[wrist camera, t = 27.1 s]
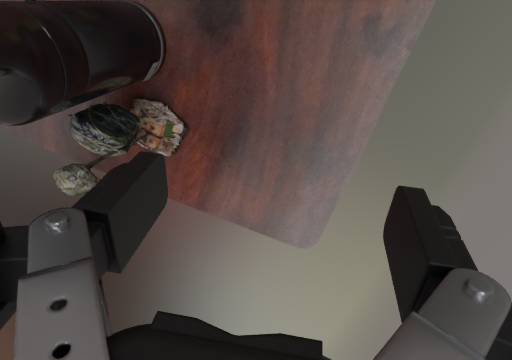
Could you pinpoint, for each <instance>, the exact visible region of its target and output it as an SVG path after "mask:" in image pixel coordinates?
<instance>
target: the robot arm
mask: <svg viewBox="0 0 512 360" xmlns="http://www.w3.org/2000/svg"><path fill="white" fill-rule="evenodd" d="M165 52H166V46H165V39H164V35H163V31H162V29H161V27H160V25H159V23H158V21H157V19H156V18H155V17H154V15H153V14H152V13H151V12H150V11H149V10H148V9H147V8H145V7H144V6H143V5H141V4H139V3H137V2H135V1H131V0H113V1H105V0H98V1H34V0H25V1H0V124H4V125H11V126H16V125H24V124H28V123H31V122H34V121H37V120H40V119H42V118H45V117H47V116H50V115H53V114H55V113H58V112H61V111H63V110H66V109H68V108H71V107H73V106H76V105H78V104H81V103H84V102H86V101H89V100H92V99H94V98H97V97H99V96H102V95H105V94H107V93H110V92H113V91H115V90H118V89H120V88H123V87H126V86H128V85H131V84H134V83H136V82H141V81H143V82H144V81H146V80H149V79H150V78H151V77H153V76H154V75H155V74H156V73H157V72H158V71H159V70H160V68H161V66H162V64H163V62H164V58H165ZM167 197H168V187H167V177H166V166H165V158H164V156H163V155H162V154H159V153H151V152H143V151H141V152H139V153H138V154H137V155H136V156H135V157H134V158H133V159H132V160H131V161H130V162H129V163H123V164H121V165H119V166H117V167H115V168H113V169H111V170H110V171H109V172H108V173H107V174H106V175H105V176H104V177H103V179H101V180H100V181H99V182H98V183H97V184H96V186H94V187H93V188H91V189H90V190H89V191H88V192H87V193H86V194H85V195H84V196H83V197H82V198H81V199H80V200H79V201H78V202H77V203H76V204H75V205H74V206H73V207H71V208H59V209H54V210H51V211H48V212H46V213H43V214H41V215H40V216H38V217H37V218H35V219H34V220H33V221H32V223H31V224H30V225H29V226H16V227H15V226H14V227H3V226H2V224H1V222H0V330H1V329H2V328H3V326H4V325H5V324H6V322H7V321H8V320H9V319H10V318H11V317H12V315H13V314H14V313H15V312H16V328H15V329H16V330H15V346H14V360H331V359H329V358H327V357H325V356H323V355H322V341H319V340H314V339H308V338H303V337H297V336H292V335H286V334H281V333H279V334H261V335H242V336H237V335H233V334H230V333H228V332H226V331H224V330H222V329H219V328H217V327H215V326H213V325H211V324H208V323H206V322H204V321H202V320H200V319H197V318H193V317H188V316H183V315H177V314H172V313H166V312H161V311H157V314H156V315H155V317H154V320H153V322H152V324H144V325H138V326H134V327H131V328H127V329H124V330H122V331H119V332H116V333H114V334H113V333H112V328H111V323H110V318H109V313H108V307H107V302H106V297H105V293H104V288H103V283H102V279H101V278H102V276H103V275H104V274H105V272H106V271H109V272H114V273H121V272H122V271H123V269H124V268H125V266H126V265H127V263H128V262H129V260H130V259H131V257H132V256H133V254H134V253H135V251H136V249H137V248H138V247H139V245H140V244H141V242H142V240H143V239H144V238H145V236H146V235H147V233H148V231H149V230H150V228H151V227H152V225H153V224H154V222H155V221H156V219H157V218H158V216H159V215H160V213H161V212H162V210H163V209H164V207H165V205H166V202H167ZM383 239H384V245H385V249H386V254H387V258H388V263H389V267H390V271H391V276H392V281H393V285H394V290H395V294H396V299H397V303H398V307H399V312H400V317H401V321H402V324H401V326H400V327H399V328H398V329H397V331H396V332H395V333H394V334H393V336H392V337H391V338H390V339H389V340H388V342H387V343H386V344H385V346H384V347H383V348H382V349H381V350H380V352H379V353H378V354H377V355H376V356H375V358H374V359H373V360H512V302H511V298H510V296H509V294H508V293H507V291H506V290H505V289H504V288H503V287H502V286H501V285H500V284H499V283H498V282H497V281H495V280H494V279H493V278H491V277H489V276H488V275H485V274H483V273H481V272H479V271H478V269H477V268H476V266H475V264H474V262H473V260H472V258H471V256H470V254H469V252H468V250H467V248H466V246H465V244H464V242H463V240H461V236H460V234H459V232H458V231H457V230H456V227H455V225H454V223H453V221H452V219H451V217H450V216H449V215H448V214H447V213H446V212H445V211H443V210H442V209H441V208H440V207H439V206H434V205H431V203H430V201H429V199H428V197H427V195H426V192H425V191H424V189H421V188H413V187H406V186H398V187H397V189H396V191H395V194H394V197H393V200H392V203H391V206H390V209H389V212H388V215H387V218H386V222H385V226H384V233H383Z"/></svg>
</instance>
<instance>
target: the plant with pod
mask: <svg viewBox="0 0 512 360" xmlns="http://www.w3.org/2000/svg"><path fill="white" fill-rule="evenodd" d="M132 101H133V102H132V103H133V104H132V107H131V109H130V111H128V110H126V109H124V108H122V107H121V106H118V105H115V104H111V105H108V104H106V102H104V103H103V104H97V105H94V106H93V105H90V108H87V109H85V110H83V111H80V112H77V113H76V114H74V116H73V117H72V119H71V129H70V132H71V135H72V136H73V138H74V139H75V141H77V142H78V143H79V144H80V145H81V146H83V147H84V148H86V149H88V150H89V151H91V152H93V153H96V154H99V155H102V156H101V157H99V159H96V160H95V161H92V162H90V163H88V164H87V165H85V164H71V165H69V166H65V167H62V168H60V169H57V170H56V171H55V172H54V173H53V177H54V179H55V180H56V184H57V186H58V188H59V189H60V190H61V192H62V193H64V194H65V195H66V196H68V197H72V196H75V195H78V194H82V193H87V192H88V191H89V190H90V189H91V188H93V187H94V186H96V184H97V183H98V182H99V181H100V180H101V179H99V178H97V177H96V176H95V175H94V174H93V173H92V172H91V171H90V168H91V167H93V166H94V165H96V164H97V163H99V162H100V161H102V160H103V159H105V158H106V157H108V156H118V155H122V154H124V153H125V154H126V153H127V152H128V150H129V149H130V147H131V146H133V145H135V144H136V142H137V144H140V146H142V148H143V147H144V148H145V147H146V148H148V149H149V151H150V150H151V149H152V151H153V152H154V153H160V154H164V156H165V155H166V156H168V157H169V156H173V155H172V154H174V152H176V151H175V150H174V149H173V148H178V147H177V146H175V145H179V141H180V142H182V140H181V139H183V138H182V137H184V136H183V135H185V136H186V134H185V133H188V130H187V128H186V127H187V126H186V125H185V124H184V123H183V122H182V121H181V120H179V118H178V117H176V115H174V114H173V113H172V112H171V111H170V109H169V110H168V107H167V106H166V107H165V108H164V103H161V102H159V103H158V102H156V101H151V102H150V101H149V100H146V99H145V98H144V99H142V100H140V99H136V98H135V99H134V100H132ZM68 116H70V117H71V116H72V114H70V115H68ZM174 155H175V154H174Z"/></svg>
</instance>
